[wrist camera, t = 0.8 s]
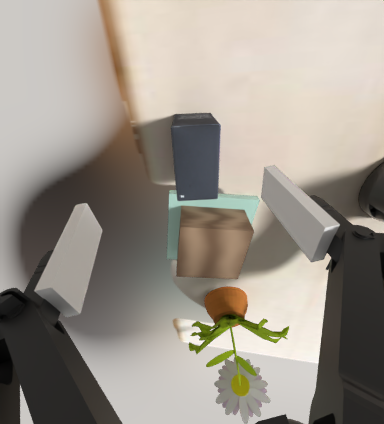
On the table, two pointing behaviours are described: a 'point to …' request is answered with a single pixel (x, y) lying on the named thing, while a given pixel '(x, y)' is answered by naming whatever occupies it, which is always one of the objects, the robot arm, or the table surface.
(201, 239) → the walnut block
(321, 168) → the table surface
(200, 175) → the small box
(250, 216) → the baseplate
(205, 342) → the decorative plant
